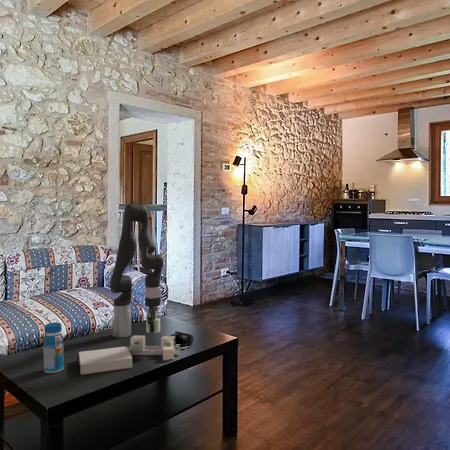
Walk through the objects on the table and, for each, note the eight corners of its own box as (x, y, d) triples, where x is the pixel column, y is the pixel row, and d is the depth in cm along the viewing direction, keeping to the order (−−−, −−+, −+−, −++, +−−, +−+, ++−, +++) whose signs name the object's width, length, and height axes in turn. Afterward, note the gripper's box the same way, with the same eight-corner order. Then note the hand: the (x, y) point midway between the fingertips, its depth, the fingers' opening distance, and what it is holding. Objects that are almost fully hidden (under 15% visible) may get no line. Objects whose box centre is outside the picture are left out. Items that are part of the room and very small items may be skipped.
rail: (124, 354, 201) (124, 338, 200) (129, 349, 208) (129, 334, 207) (178, 356, 199) (178, 340, 199) (180, 351, 206) (180, 335, 206)
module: (146, 332, 201) (145, 320, 201) (148, 330, 205) (148, 317, 205) (158, 332, 201) (158, 320, 200) (160, 330, 205) (160, 318, 205)
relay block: (162, 360, 193) (162, 349, 193) (163, 357, 197) (163, 346, 197) (173, 360, 194) (173, 349, 194) (174, 357, 198) (173, 346, 198)
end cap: (193, 346, 213) (193, 333, 213) (184, 350, 208) (184, 336, 207) (179, 342, 219) (179, 329, 219) (169, 346, 214) (169, 333, 213)
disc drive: (77, 362, 193) (76, 351, 193) (126, 355, 201) (126, 345, 201) (78, 376, 176) (78, 364, 176) (132, 368, 185) (132, 357, 184)
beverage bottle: (42, 374, 177) (41, 327, 176) (44, 367, 185) (43, 322, 184) (63, 372, 179) (62, 326, 179) (65, 365, 187) (64, 321, 187)
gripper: (148, 292, 210) (149, 326, 210) (141, 298, 196) (141, 335, 196) (163, 293, 209) (164, 326, 210) (156, 299, 195) (157, 335, 196)
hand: (153, 330), depth 203 cm, fingers closed on module, 4 cm apart
